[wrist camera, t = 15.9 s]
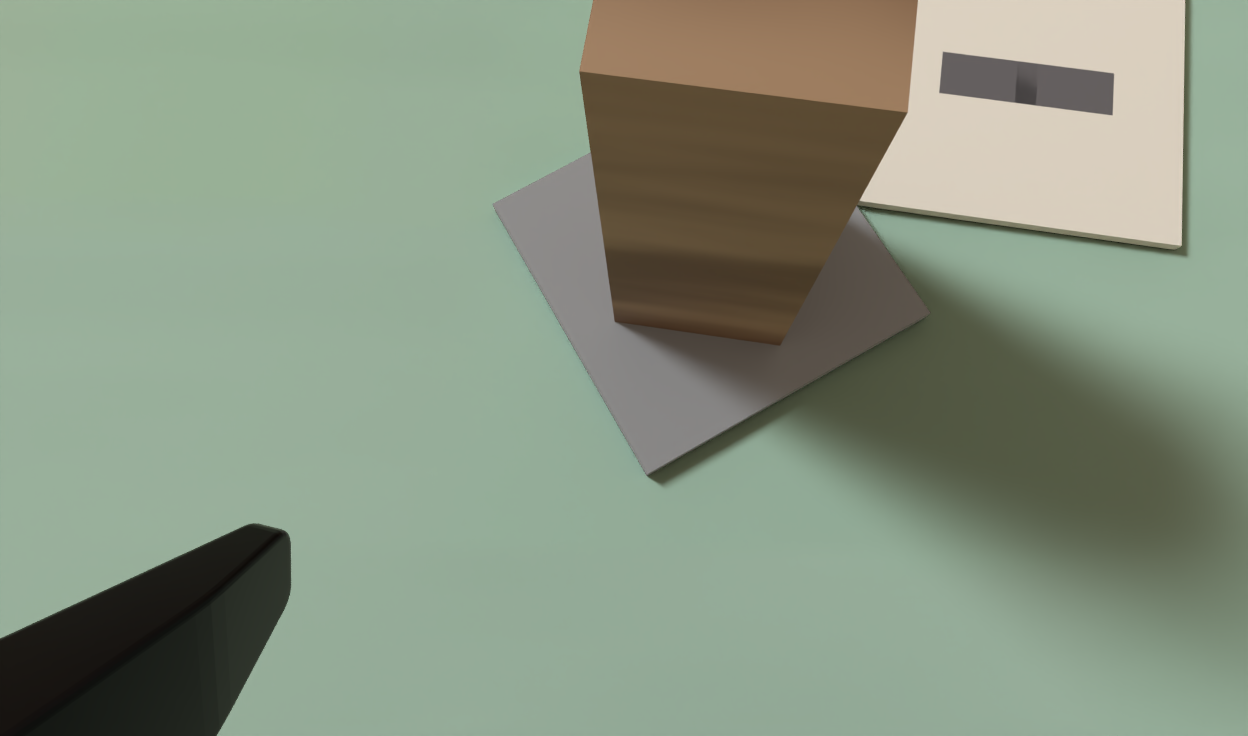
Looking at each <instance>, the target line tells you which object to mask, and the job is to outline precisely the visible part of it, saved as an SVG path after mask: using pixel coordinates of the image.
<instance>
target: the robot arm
mask: <svg viewBox="0 0 1248 736" xmlns="http://www.w3.org/2000/svg"><path fill="white" fill-rule="evenodd" d="M290 590H291V542H290V537H289V535H288V533H287V532H286V531H284V530H282V529H278V528H274V527H270V526H266V525H262V524H256V523H253V524H248V525H245V526H243V527H241V528H239V529H237V530H234V531H232V532H230V533H228V534H226V535H224V536H221V537H219V538H217V539H215V540H213V541H211V542H208V543H206V544H204V545H202V546H200V547H198V548H195V549H193V550H191V551H189V552H187V553H185V554H182V555H180V556H178V557H176V558H174V559H172V560H169V561H167V562H165V563H163V564H161V565H159V566H156V567H154V568H152V569H150V570H148V571H146V572H143V573H141V574H139V575H137V576H135V577H133V578H130V579H128V580H126V581H124V582H122V583H120V584H117V585H115V586H113V587H111V588H109V589H107V590H104V591H102V592H100V593H98V594H96V595H94V596H91V597H89V598H87V599H85V600H83V601H81V602H78V603H76V604H74V605H72V606H70V607H68V608H65V609H63V610H61V611H59V612H57V613H55V614H53V615H50V616H48V617H46V618H44V619H42V620H40V621H37V622H35V623H33V624H31V625H29V626H27V627H24V628H22V629H20V630H18V631H16V632H14V633H11V634H9V635H7V636H5V637H3V638H1V639H0V736H217V734H218V732H219V731H220V729H221V727H222V726H223V724H224V722H225V720H226V718H227V717H228V715H229V713H230V711H231V709H232V708H233V706H234V704H235V702H236V700H237V698H238V696H239V694H240V692H241V690H242V689H243V687H244V685H245V683H246V681H247V679H248V677H249V675H250V673H251V672H252V670H253V668H254V666H255V664H256V662H257V660H258V658H259V656H260V654H261V653H262V651H263V649H264V647H265V645H266V643H267V641H268V639H269V637H270V636H271V634H272V632H273V630H274V628H275V626H276V624H277V622H278V620H279V618H280V617H281V615H282V613H283V611H284V609H285V607H286V604H287V602H288V599H289V595H290Z"/></svg>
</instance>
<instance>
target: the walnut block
mask: <svg viewBox="0 0 1248 736" xmlns="http://www.w3.org/2000/svg"><path fill="white" fill-rule="evenodd" d="M917 6H918V0H593V4H592V9H591V14H590V19H589V25H588V30H587V35H586V40H585V45H584V50H583V55H582V60H581V66H580V71H579V72H580V79H581V86H582V94H583V101H584V108H585V115H586V122H587V129H588V136H589V143H590V150H591V157H592V165H593V172H594V179H595V186H596V193H597V200H598V207H599V214H600V221H601V228H602V235H603V243H604V250H605V257H606V264H607V271H608V278H609V285H610V292H611V299H612V306H613V314H614V321H615V322H620V323H627V324H634V325H641V326H648V327H655V328H661V329H668V330H675V331H682V332H689V333H696V334H703V335H710V336H716V337H723V338H730V339H737V340H744V341H751V342H758V343H765V344H771V345H778V346H780V345H781V343H782V341H783V339H784V338H785V336H786V334H787V332H788V330H789V328H790V327H791V325H792V323H793V321H794V319H795V317H796V316H797V314H798V312H799V310H800V308H801V307H802V305H803V303H804V301H805V299H806V297H807V296H808V294H809V292H810V290H811V288H812V286H813V285H814V283H815V281H816V279H817V277H818V275H819V274H820V272H821V270H822V268H823V266H824V265H825V263H826V261H827V259H828V257H829V255H830V254H831V252H832V250H833V248H834V246H835V244H836V243H837V241H838V239H839V237H840V235H841V233H842V232H843V230H844V228H845V226H846V224H847V223H848V221H849V219H850V217H851V215H852V213H853V212H854V210H855V208H856V206H857V204H858V202H859V201H860V199H861V197H862V195H863V193H864V192H865V190H866V188H867V186H868V184H869V182H870V181H871V179H872V177H873V175H874V173H875V171H876V170H877V168H878V166H879V164H880V162H881V160H882V159H883V157H884V155H885V153H886V151H887V150H888V148H889V146H890V144H891V142H892V140H893V139H894V137H895V135H896V133H897V131H898V129H899V128H900V126H901V124H902V122H903V120H904V118H905V117H906V115H907V113H908V105H909V94H910V83H911V72H912V61H913V50H914V39H915V28H916V17H917Z"/></svg>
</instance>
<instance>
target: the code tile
mask: <svg viewBox="0 0 1248 736" xmlns="http://www.w3.org/2000/svg"><path fill="white" fill-rule="evenodd" d="M1184 46H1185V0H918V6H917V17H916V28H915V39H914V50H913V61H912V72H911V83H910V94H909V105H908V113H907V115H906V117H905V118H904V120H903V122H902V124H901V126H900V128H899V129H898V131H897V133H896V135H895V137H894V139H893V140H892V142H891V144H890V146H889V148H888V150H887V151H886V153H885V155H884V157H883V159H882V160H881V162H880V164H879V166H878V168H877V170H876V171H875V173H874V175H873V177H872V179H871V181H870V182H869V184H868V186H867V188H866V190H865V192H864V193H863V195H862V197H861V199H860V201H859V202H858V204H857V205H859V206H866V207H873V208H880V209H887V210H894V211H901V212H909V213H916V214H923V215H930V216H937V217H944V218H951V219H958V220H966V221H973V222H980V223H987V224H994V225H1001V226H1008V227H1015V228H1023V229H1030V230H1037V231H1044V232H1051V233H1058V234H1065V235H1072V236H1080V237H1087V238H1094V239H1101V240H1108V241H1115V242H1122V243H1129V244H1137V245H1144V246H1151V247H1158V248H1165V249H1172V250H1176V249H1177V248H1179V247H1181V246H1182V183H1183V115H1184Z"/></svg>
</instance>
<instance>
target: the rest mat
mask: <svg viewBox="0 0 1248 736" xmlns="http://www.w3.org/2000/svg"><path fill="white" fill-rule="evenodd" d="M493 207H494V209H495V211H496V213H497V214H498V216H499V218H500V220H501V221H502V223H503V225H504V227H505V228H506V230H507V232H508V234H509V235H510V237H511V239H512V241H513V243H514V244H515V246H516V248H517V250H518V251H519V253H520V255H521V257H522V258H523V260H524V262H525V264H526V265H527V267H528V269H529V271H530V272H531V274H532V276H533V278H534V279H535V281H536V283H537V285H538V286H539V288H540V290H541V292H542V293H543V295H544V297H545V299H546V300H547V302H548V304H549V306H550V307H551V309H552V311H553V313H554V314H555V316H556V318H557V320H558V321H559V323H560V325H561V327H562V328H563V330H564V332H565V334H566V335H567V337H568V339H569V341H570V342H571V344H572V346H573V348H574V349H575V351H576V353H577V355H578V356H579V358H580V360H581V362H582V363H583V365H584V367H585V369H586V370H587V372H588V374H589V376H590V377H591V379H592V381H593V383H594V384H595V386H596V388H597V390H598V391H599V393H600V395H601V397H602V398H603V400H604V402H605V404H606V405H607V407H608V409H609V411H610V412H611V414H612V416H613V418H614V419H615V421H616V423H617V425H618V426H619V428H620V430H621V432H622V433H623V435H624V437H625V439H626V440H627V442H628V444H629V446H630V447H631V449H632V451H633V453H634V454H635V456H636V458H637V460H638V462H639V463H640V465H641V467H642V469H643V470H644V472H645V474H646V476H648V475H650V474H652V473H654V472H655V471H657V470H659V469H661V468H662V467H664V466H666V465H668V464H669V463H671V462H673V461H675V460H676V459H678V458H680V457H682V456H683V455H685V454H687V453H689V452H690V451H692V450H694V449H696V448H697V447H699V446H701V445H703V444H704V443H706V442H708V441H710V440H711V439H713V438H715V437H717V436H718V435H720V434H722V433H724V432H725V431H727V430H729V429H731V428H733V427H734V426H736V425H738V424H740V423H741V422H743V421H745V420H747V419H748V418H750V417H752V416H754V415H755V414H757V413H759V412H761V411H762V410H764V409H766V408H768V407H769V406H771V405H773V404H775V403H776V402H778V401H780V400H782V399H783V398H785V397H787V396H789V395H790V394H792V393H794V392H796V391H797V390H799V389H801V388H803V387H804V386H806V385H808V384H810V383H812V382H813V381H815V380H817V379H819V378H820V377H822V376H824V375H826V374H827V373H829V372H831V371H833V370H834V369H836V368H838V367H840V366H841V365H843V364H845V363H847V362H848V361H850V360H852V359H854V358H855V357H857V356H859V355H861V354H862V353H864V352H866V351H868V350H869V349H871V348H873V347H875V346H876V345H878V344H880V343H882V342H884V341H885V340H887V339H889V338H891V337H892V336H894V335H896V334H898V333H899V332H901V331H903V330H905V329H906V328H908V327H910V326H912V325H913V324H915V323H917V322H919V321H920V320H922V319H924V318H926V317H927V316H928V315H929V314H930V311H929V310H928V308H927V307H926V306H925V304H924V303H923V301H922V300H921V298H920V297H919V295H918V294H917V292H916V291H915V290H914V288H913V287H912V285H911V284H910V282H909V281H908V279H907V278H906V277H905V275H904V274H903V272H902V271H901V269H900V268H899V266H898V265H897V264H896V262H895V261H894V259H893V258H892V256H891V255H890V253H889V252H888V251H887V249H886V248H885V246H884V245H883V243H882V242H881V240H880V239H879V238H878V236H877V235H876V233H875V232H874V230H873V229H872V227H871V226H870V225H869V223H868V222H867V220H866V219H865V217H864V216H863V214H862V213H861V212H860V210H859V209H858V207H857V206H856V208H855V210H854V212H853V213H852V215H851V217H850V219H849V221H848V223H847V224H846V226H845V228H844V230H843V232H842V233H841V235H840V237H839V239H838V241H837V243H836V244H835V246H834V248H833V250H832V252H831V254H830V255H829V257H828V259H827V261H826V263H825V265H824V266H823V268H822V270H821V272H820V274H819V275H818V277H817V279H816V281H815V283H814V285H813V286H812V288H811V290H810V292H809V294H808V296H807V297H806V299H805V301H804V303H803V305H802V307H801V308H800V310H799V312H798V314H797V316H796V317H795V319H794V321H793V323H792V325H791V327H790V328H789V330H788V332H787V334H786V336H785V338H784V339H783V341H782V343H781V345H780V346H778V345H771V344H765V343H758V342H751V341H744V340H737V339H730V338H723V337H716V336H710V335H703V334H696V333H689V332H682V331H675V330H668V329H661V328H655V327H648V326H641V325H634V324H627V323H620V322H615V321H614V314H613V306H612V299H611V292H610V285H609V278H608V271H607V264H606V257H605V250H604V243H603V235H602V228H601V221H600V214H599V207H598V200H597V193H596V186H595V179H594V172H593V165H592V157H591V153H589V154H587V155H585V156H583V157H581V158H579V159H577V160H575V161H573V162H571V163H570V164H568V165H566V166H564V167H562V168H560V169H558V170H556V171H554V172H552V173H551V174H549V175H547V176H545V177H543V178H541V179H539V180H537V181H535V182H533V183H531V184H530V185H528V186H526V187H524V188H522V189H520V190H518V191H516V192H514V193H512V194H511V195H509V196H507V197H505V198H503V199H501V200H499V201H497V202H495V203H493Z"/></svg>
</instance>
